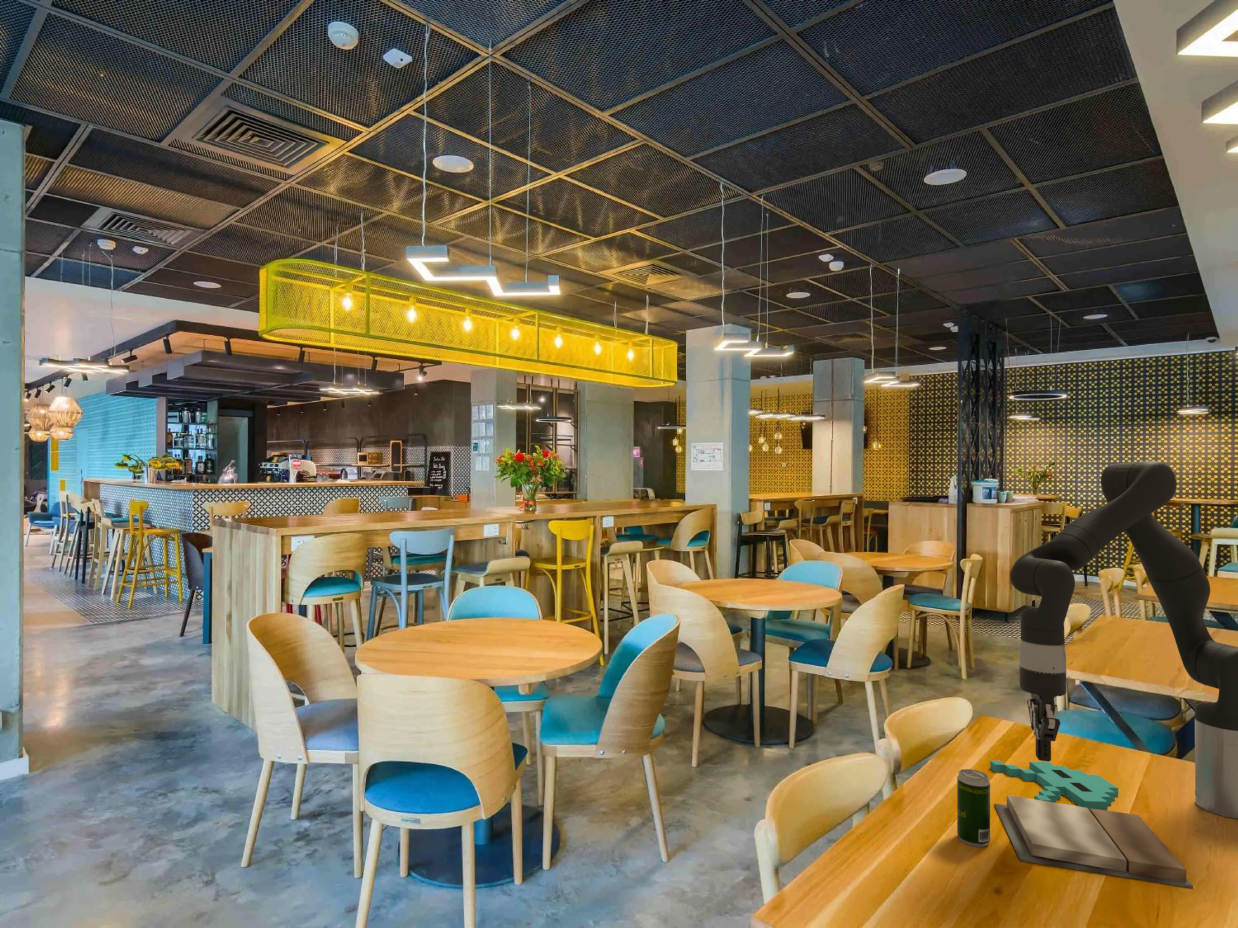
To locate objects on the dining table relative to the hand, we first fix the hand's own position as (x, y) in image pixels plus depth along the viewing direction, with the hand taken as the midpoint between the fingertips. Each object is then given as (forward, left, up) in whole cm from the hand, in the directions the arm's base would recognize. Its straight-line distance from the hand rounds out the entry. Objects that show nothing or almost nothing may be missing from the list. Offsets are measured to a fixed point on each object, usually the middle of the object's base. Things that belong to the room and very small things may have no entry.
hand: (1043, 759), depth 131 cm
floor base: (-6, 0, -14) cm, 16 cm away
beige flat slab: (-3, 0, -14) cm, 14 cm away
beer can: (+13, +6, -14) cm, 20 cm away
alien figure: (-9, -25, -15) cm, 31 cm away
